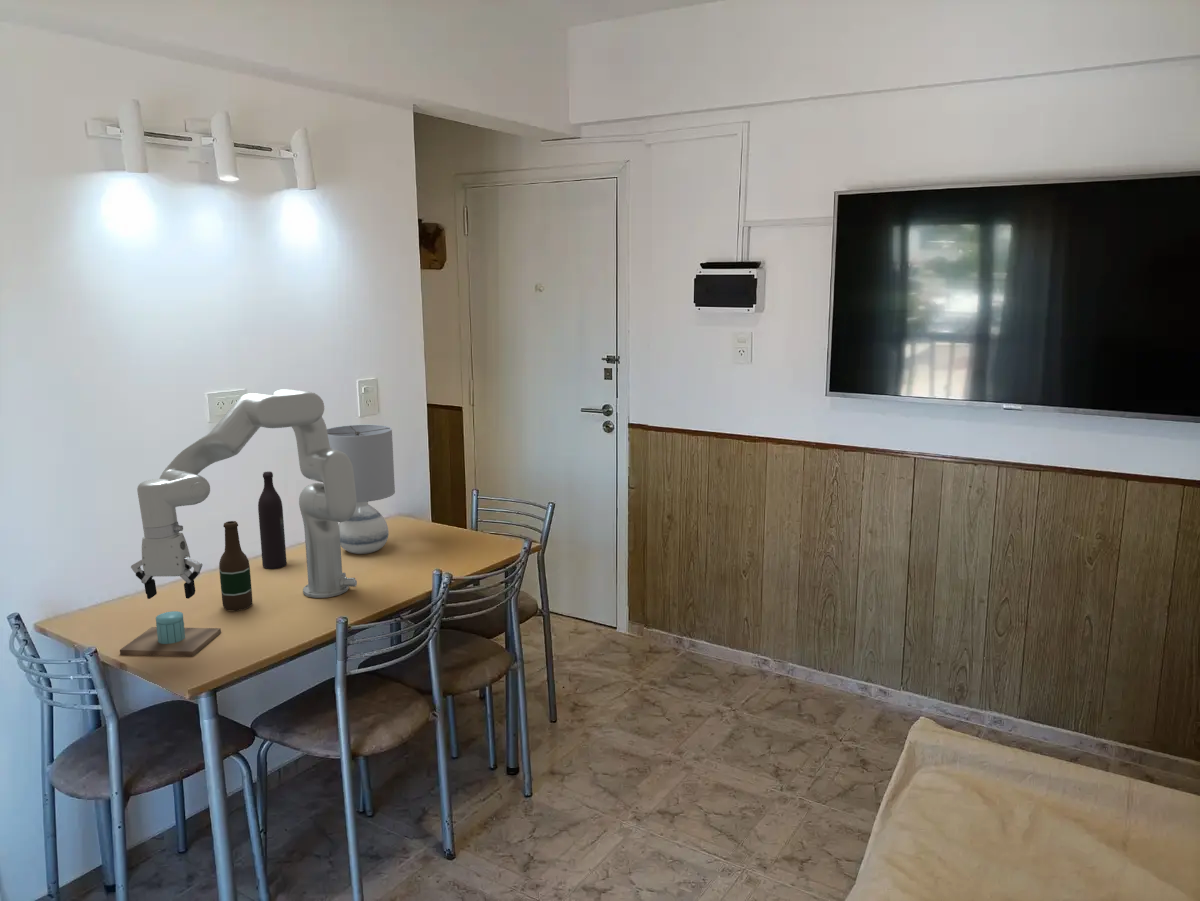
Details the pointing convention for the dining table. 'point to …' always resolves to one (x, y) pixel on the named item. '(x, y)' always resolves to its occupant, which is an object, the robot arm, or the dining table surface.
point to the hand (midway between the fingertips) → (171, 596)
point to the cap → (170, 627)
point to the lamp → (366, 483)
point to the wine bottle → (271, 525)
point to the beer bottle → (234, 572)
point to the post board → (185, 647)
